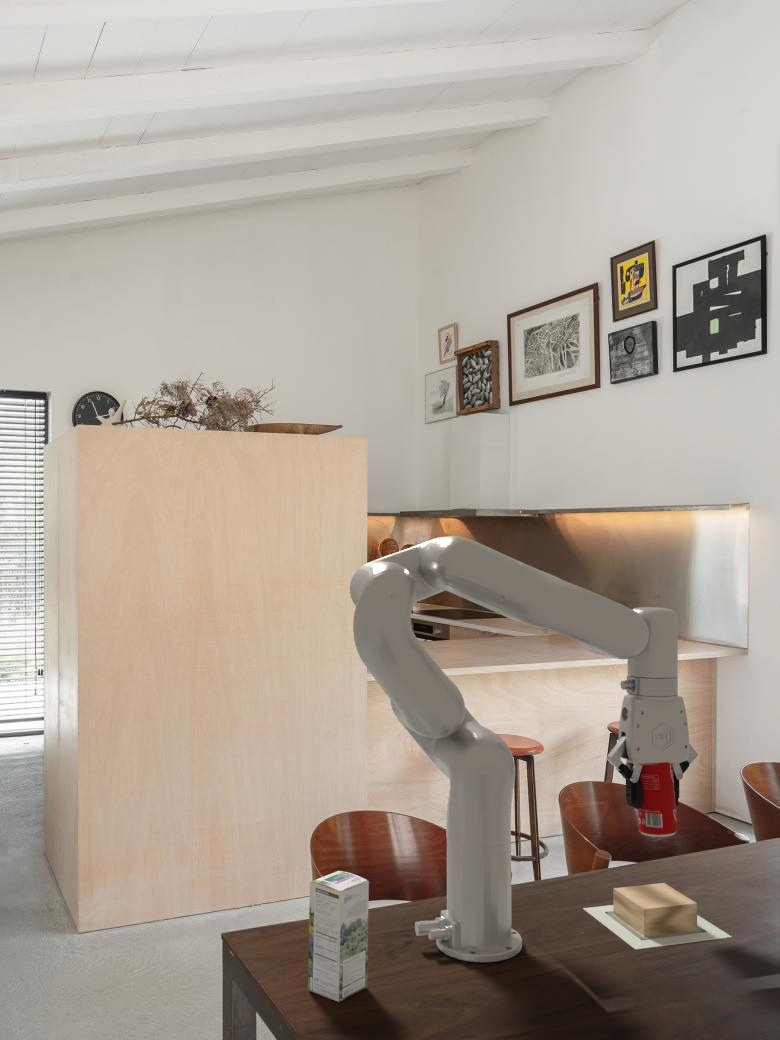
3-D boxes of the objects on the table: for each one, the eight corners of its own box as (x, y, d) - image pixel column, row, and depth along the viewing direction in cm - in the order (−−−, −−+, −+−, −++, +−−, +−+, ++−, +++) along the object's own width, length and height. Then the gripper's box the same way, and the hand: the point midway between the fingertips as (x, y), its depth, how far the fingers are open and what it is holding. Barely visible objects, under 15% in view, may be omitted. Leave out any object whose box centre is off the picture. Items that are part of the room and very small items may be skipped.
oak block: (644, 936, 138) (643, 909, 138) (613, 914, 147) (613, 888, 147) (697, 930, 140) (697, 903, 141) (664, 908, 149) (663, 882, 149)
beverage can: (681, 839, 141) (681, 739, 142) (638, 838, 141) (638, 738, 142) (670, 827, 147) (670, 731, 148) (629, 827, 147) (629, 731, 148)
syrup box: (336, 975, 128) (336, 868, 128) (369, 988, 124) (369, 877, 125) (307, 990, 123) (307, 879, 124) (340, 1004, 120) (340, 889, 120)
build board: (635, 957, 134) (635, 948, 134) (582, 915, 149) (582, 907, 149) (732, 945, 138) (731, 936, 138) (671, 905, 153) (671, 897, 153)
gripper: (615, 692, 139) (615, 815, 138) (715, 689, 144) (715, 808, 143) (590, 685, 146) (590, 802, 145) (686, 682, 151) (687, 795, 150)
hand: (652, 804), depth 144 cm, fingers closed on beverage can, 5 cm apart
